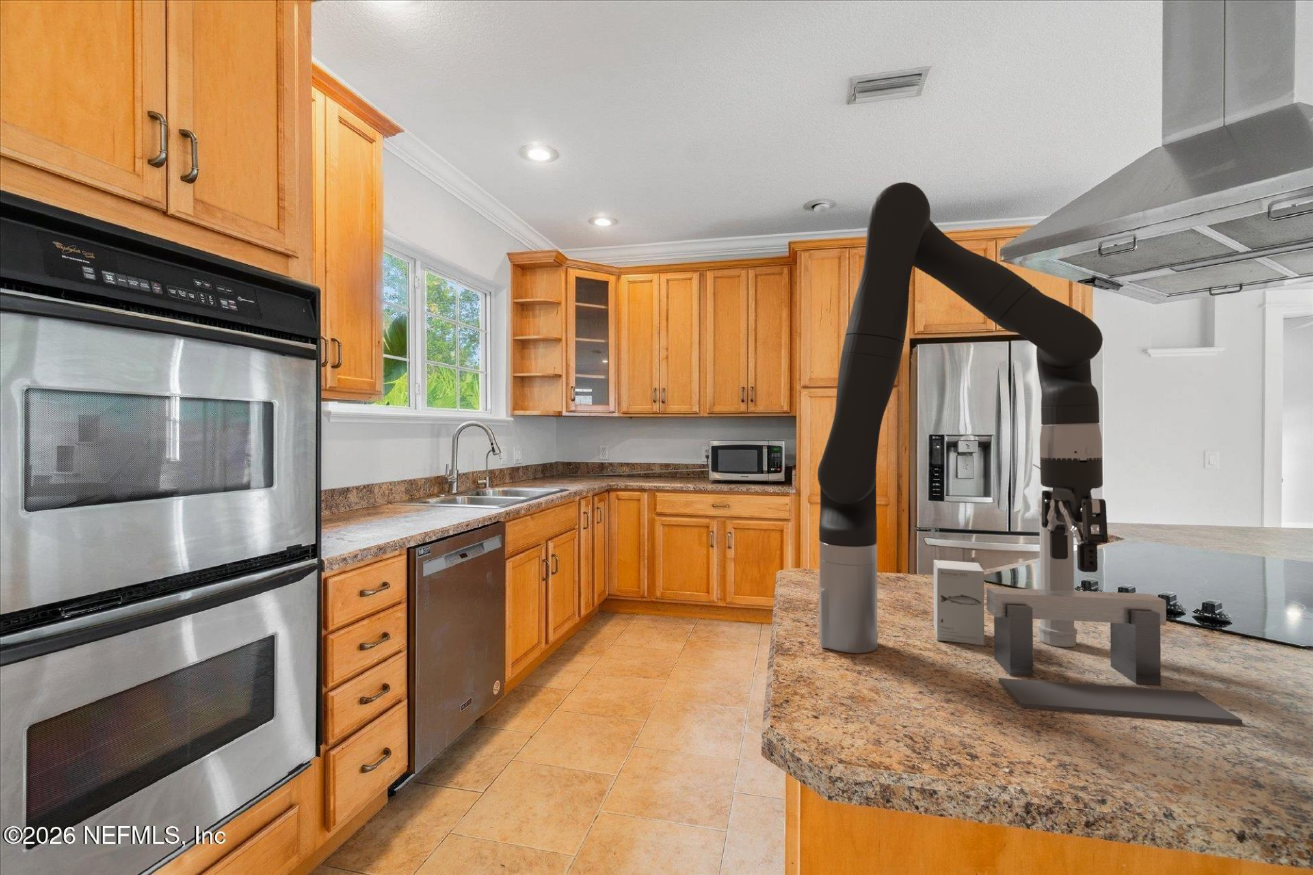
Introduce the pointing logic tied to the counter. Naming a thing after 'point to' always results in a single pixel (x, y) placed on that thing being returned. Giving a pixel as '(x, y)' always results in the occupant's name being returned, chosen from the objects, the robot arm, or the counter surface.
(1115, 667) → the post
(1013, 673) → the post
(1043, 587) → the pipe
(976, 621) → the supplement box
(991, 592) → the rail
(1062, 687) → the mat
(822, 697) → the counter surface
